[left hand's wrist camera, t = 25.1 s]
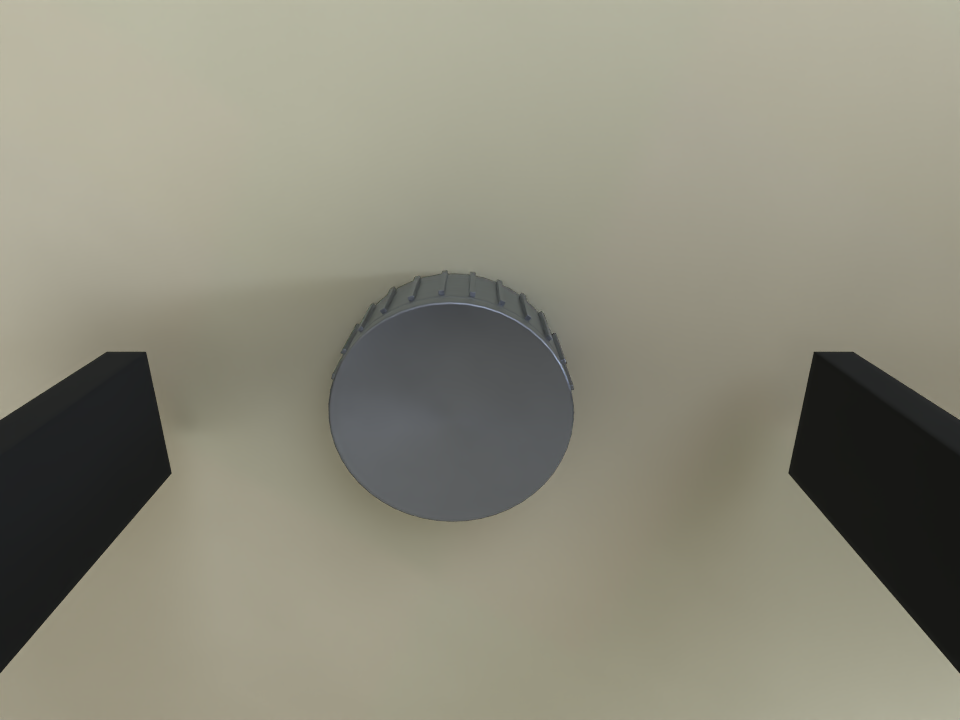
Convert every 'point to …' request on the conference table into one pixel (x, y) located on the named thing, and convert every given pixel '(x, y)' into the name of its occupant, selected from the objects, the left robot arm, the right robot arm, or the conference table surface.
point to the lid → (452, 399)
